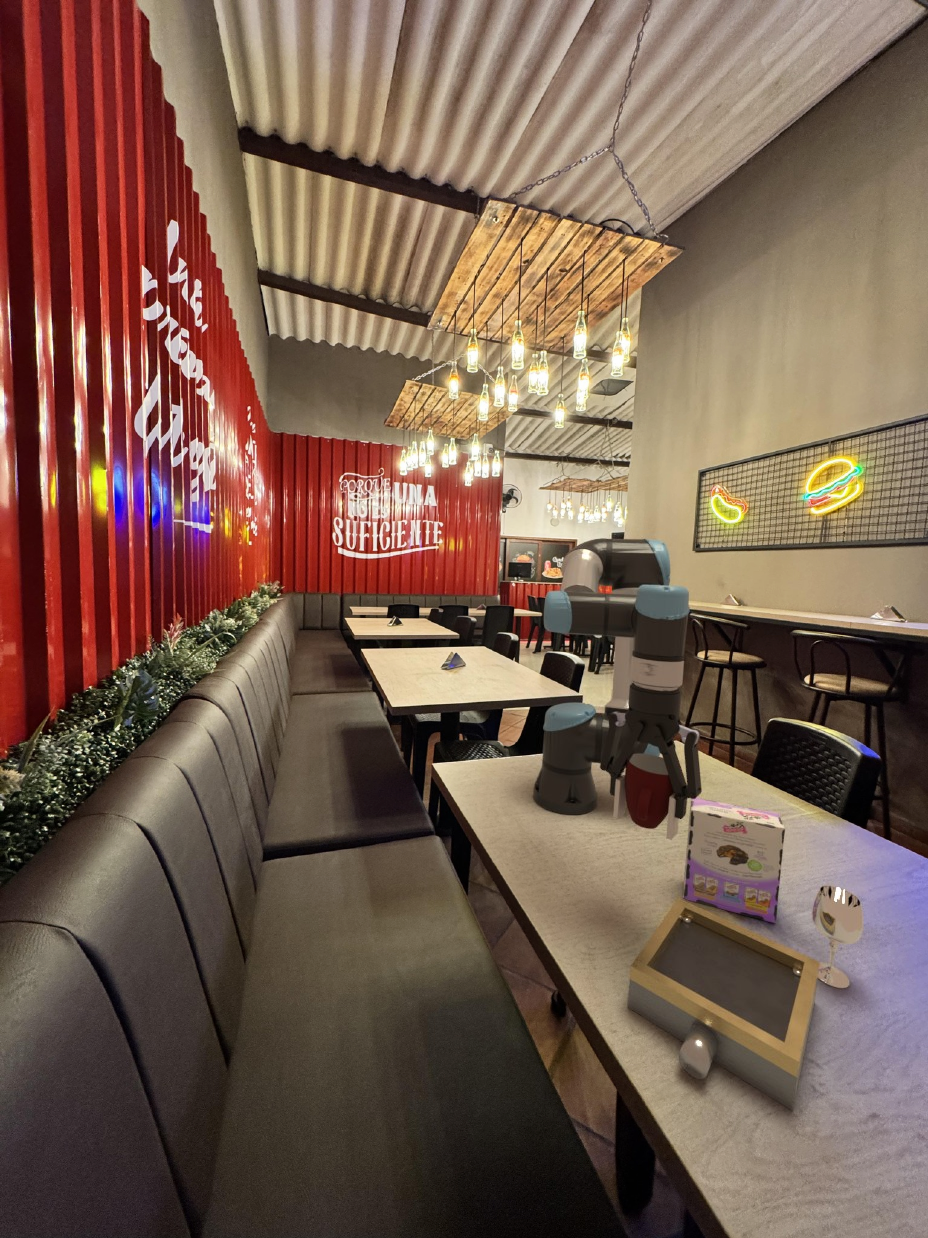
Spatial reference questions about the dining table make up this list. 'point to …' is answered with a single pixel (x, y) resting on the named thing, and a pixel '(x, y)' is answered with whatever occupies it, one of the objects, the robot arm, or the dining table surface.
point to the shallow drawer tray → (727, 998)
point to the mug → (647, 790)
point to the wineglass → (836, 927)
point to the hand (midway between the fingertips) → (644, 825)
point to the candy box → (734, 858)
